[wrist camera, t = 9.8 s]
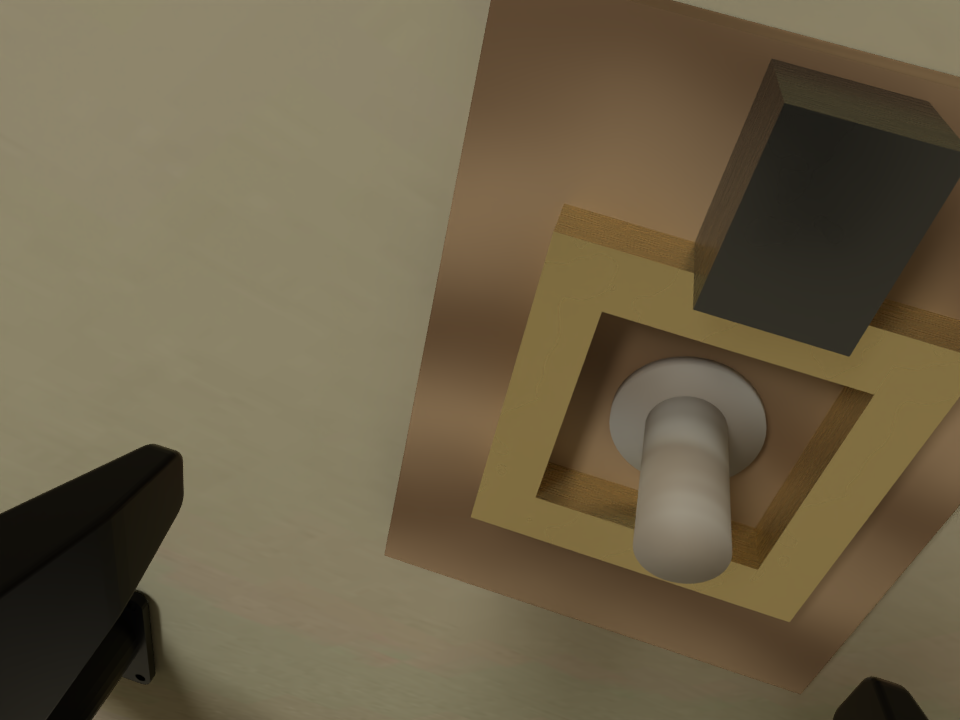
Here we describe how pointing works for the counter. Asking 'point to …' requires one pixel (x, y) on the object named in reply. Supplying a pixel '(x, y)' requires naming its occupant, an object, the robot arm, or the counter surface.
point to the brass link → (756, 327)
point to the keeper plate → (646, 335)
